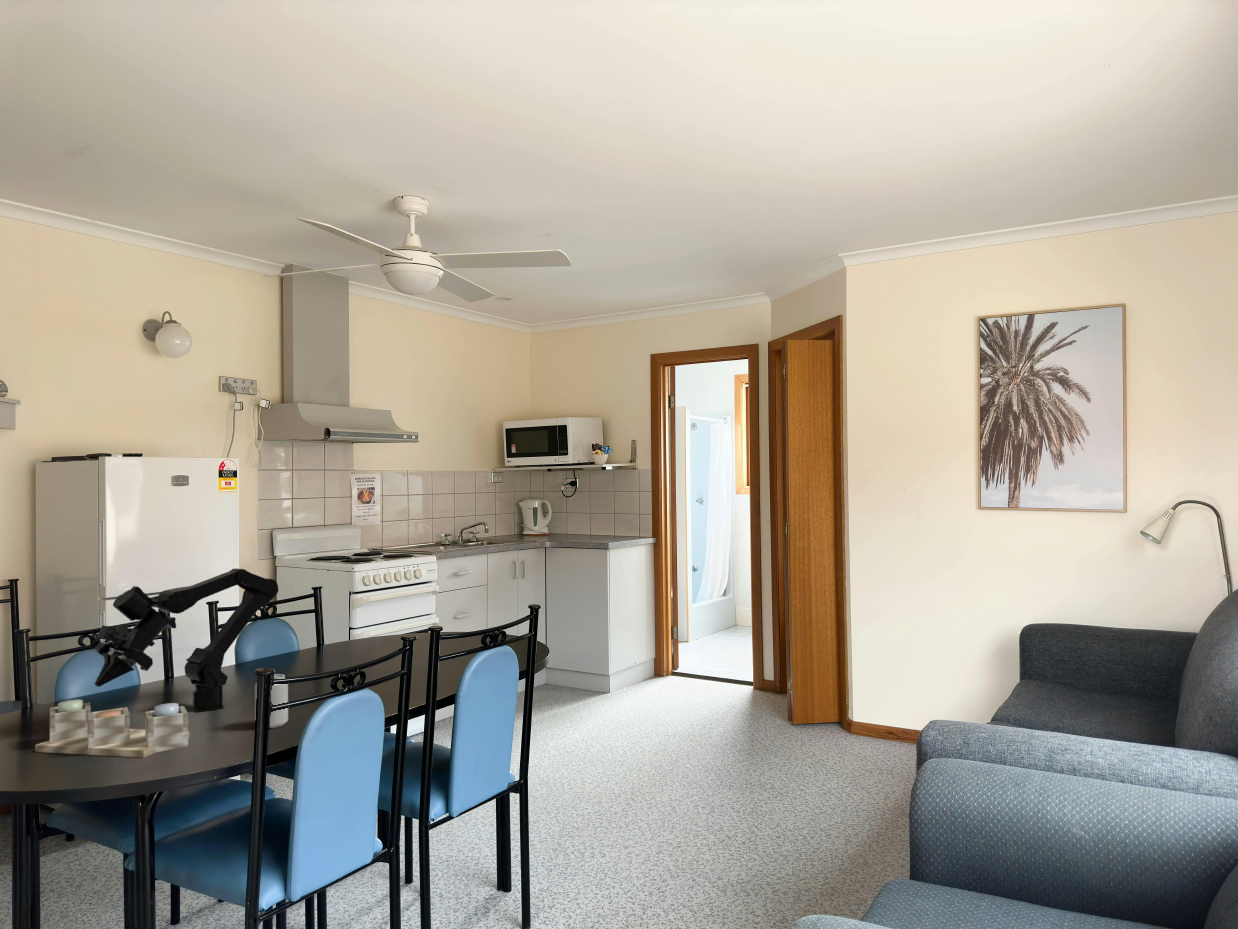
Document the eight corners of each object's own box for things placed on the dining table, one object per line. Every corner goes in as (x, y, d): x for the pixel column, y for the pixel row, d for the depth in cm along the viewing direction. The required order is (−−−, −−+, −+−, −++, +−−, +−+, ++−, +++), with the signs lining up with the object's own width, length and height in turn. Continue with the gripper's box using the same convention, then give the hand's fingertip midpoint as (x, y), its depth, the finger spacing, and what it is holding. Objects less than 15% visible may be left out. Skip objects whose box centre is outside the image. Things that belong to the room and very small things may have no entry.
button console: (72, 732, 197) (72, 701, 197) (206, 738, 190) (206, 706, 190) (18, 751, 183) (18, 717, 183) (160, 758, 176) (160, 723, 176)
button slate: (177, 715, 189) (177, 702, 189) (179, 719, 185) (179, 706, 185) (153, 718, 186) (153, 705, 186) (155, 723, 182) (155, 710, 182)
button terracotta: (120, 722, 188) (120, 709, 189) (121, 727, 185) (121, 714, 185) (95, 726, 186) (95, 713, 186) (96, 731, 182) (96, 717, 182)
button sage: (82, 711, 194) (82, 698, 194) (82, 715, 190) (82, 702, 190) (57, 714, 191) (57, 701, 191) (57, 719, 187) (57, 706, 187)
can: (275, 730, 196) (275, 680, 196) (248, 729, 197) (247, 679, 197) (294, 721, 203) (294, 673, 203) (267, 720, 204) (267, 672, 205)
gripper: (102, 609, 205) (52, 661, 196) (139, 615, 195) (88, 670, 185) (135, 636, 212) (88, 688, 202) (172, 643, 201) (125, 697, 192)
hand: (96, 685), depth 195 cm, fingers closed
